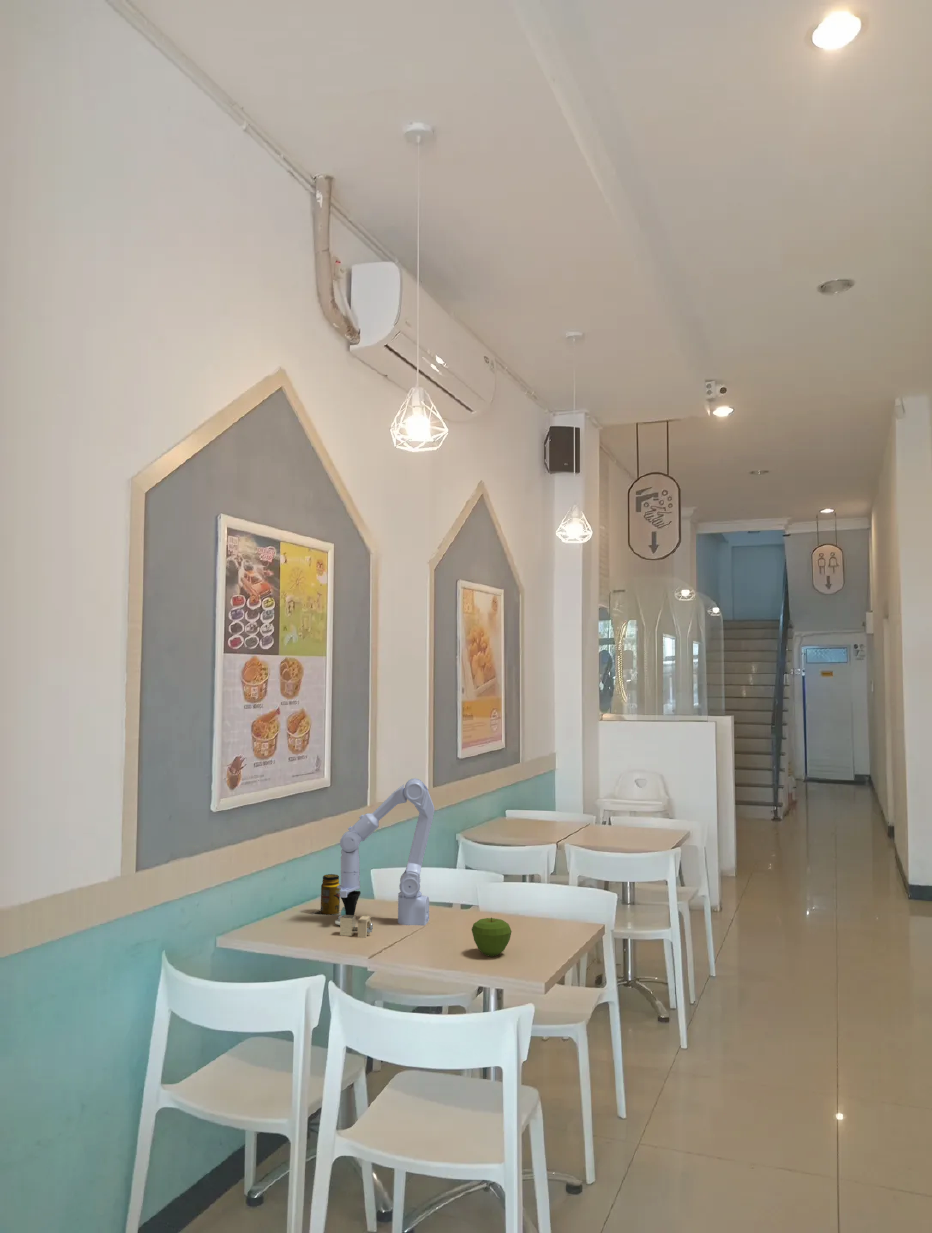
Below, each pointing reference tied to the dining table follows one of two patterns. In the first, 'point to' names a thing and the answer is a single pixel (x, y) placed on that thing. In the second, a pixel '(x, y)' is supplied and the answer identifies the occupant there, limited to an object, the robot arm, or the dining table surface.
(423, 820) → the robot arm
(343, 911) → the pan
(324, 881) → the condiment
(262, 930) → the dining table surface
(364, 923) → the grey dial panel
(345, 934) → the beige rectangular block
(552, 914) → the dining table surface
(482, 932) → the apple
